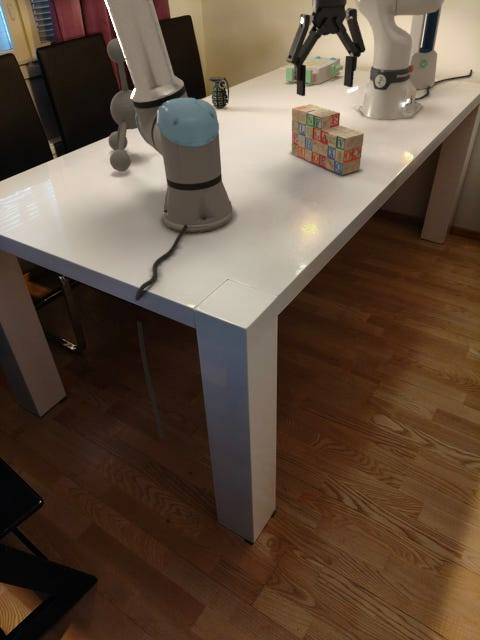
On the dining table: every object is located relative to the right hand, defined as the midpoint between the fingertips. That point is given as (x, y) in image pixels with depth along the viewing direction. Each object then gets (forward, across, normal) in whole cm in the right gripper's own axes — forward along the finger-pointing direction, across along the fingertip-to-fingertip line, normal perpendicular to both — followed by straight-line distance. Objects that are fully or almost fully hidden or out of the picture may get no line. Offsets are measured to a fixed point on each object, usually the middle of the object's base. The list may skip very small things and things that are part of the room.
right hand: (348, 2), depth 124 cm
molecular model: (+34, +53, -22) cm, 67 cm away
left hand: (+16, +17, +13) cm, 27 cm away
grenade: (+34, +11, -53) cm, 64 cm away
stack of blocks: (+34, +16, +12) cm, 40 cm away
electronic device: (+34, -61, -27) cm, 75 cm away
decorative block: (+34, -43, -66) cm, 86 cm away
